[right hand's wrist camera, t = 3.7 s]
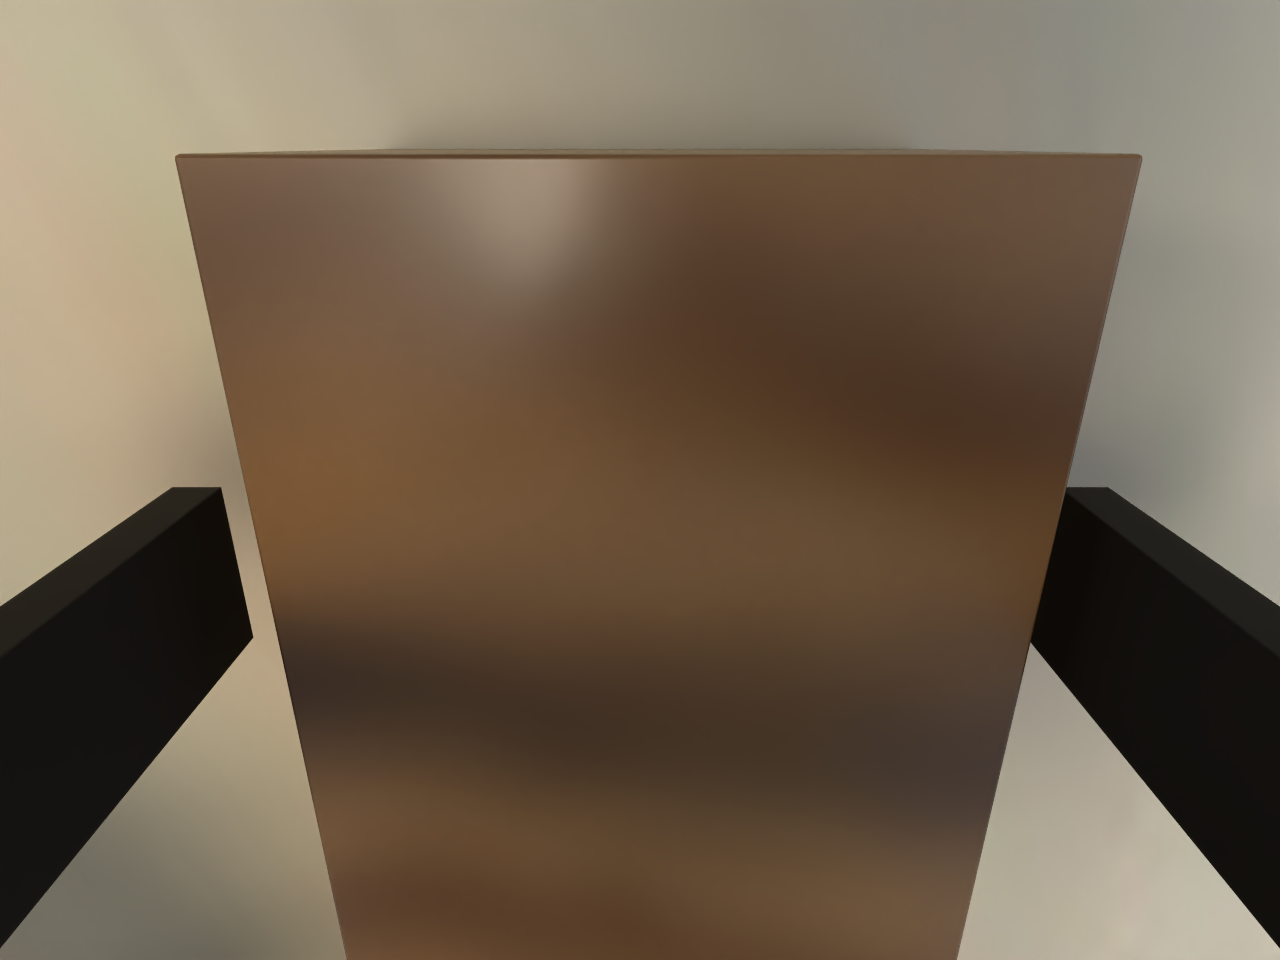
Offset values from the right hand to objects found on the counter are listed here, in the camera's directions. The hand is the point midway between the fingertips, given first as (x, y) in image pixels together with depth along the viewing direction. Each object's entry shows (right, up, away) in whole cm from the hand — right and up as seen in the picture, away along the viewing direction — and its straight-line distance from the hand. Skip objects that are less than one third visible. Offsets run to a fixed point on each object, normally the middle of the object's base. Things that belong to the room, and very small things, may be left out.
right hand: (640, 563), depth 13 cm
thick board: (0, -19, +13) cm, 23 cm away
